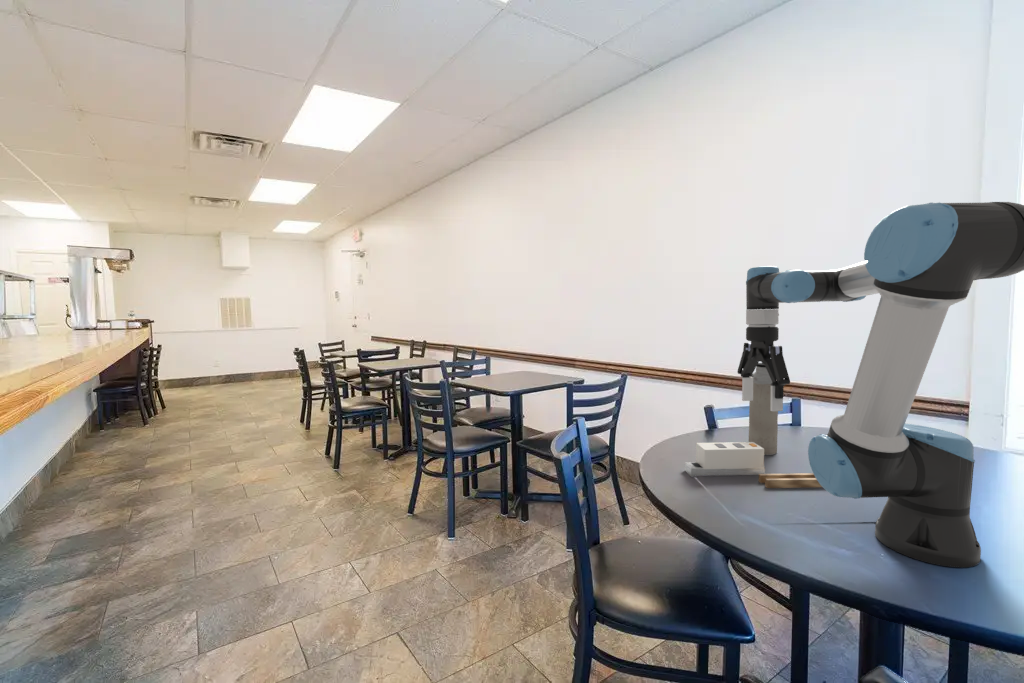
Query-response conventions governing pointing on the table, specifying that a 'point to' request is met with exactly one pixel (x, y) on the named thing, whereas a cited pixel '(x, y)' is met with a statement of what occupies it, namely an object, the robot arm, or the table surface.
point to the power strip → (729, 455)
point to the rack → (789, 480)
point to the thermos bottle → (763, 413)
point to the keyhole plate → (719, 470)
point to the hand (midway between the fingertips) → (761, 405)
